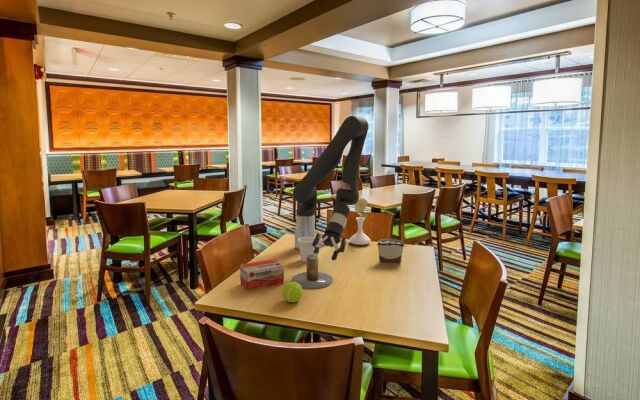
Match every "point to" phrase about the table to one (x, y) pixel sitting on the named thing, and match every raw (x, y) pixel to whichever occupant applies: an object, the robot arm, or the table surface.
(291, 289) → the tennis ball
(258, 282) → the medicine box
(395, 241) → the food container
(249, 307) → the table surface
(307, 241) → the dixie cup
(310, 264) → the pepper mill
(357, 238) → the flower in vase
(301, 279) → the trivet
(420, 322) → the table surface
